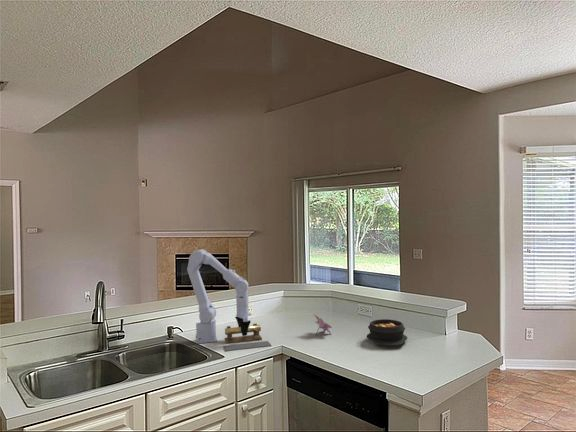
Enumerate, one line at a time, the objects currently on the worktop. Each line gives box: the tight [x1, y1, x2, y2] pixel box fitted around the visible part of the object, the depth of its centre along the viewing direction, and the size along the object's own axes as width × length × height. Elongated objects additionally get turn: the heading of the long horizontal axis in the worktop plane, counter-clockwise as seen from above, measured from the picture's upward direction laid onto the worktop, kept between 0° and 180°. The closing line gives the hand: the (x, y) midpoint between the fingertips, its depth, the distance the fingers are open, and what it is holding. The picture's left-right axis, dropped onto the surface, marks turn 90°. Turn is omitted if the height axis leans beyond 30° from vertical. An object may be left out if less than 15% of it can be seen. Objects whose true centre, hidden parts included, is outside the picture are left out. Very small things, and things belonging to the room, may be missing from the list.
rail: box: [224, 324, 262, 336], centre depth 203 cm, size 17×3×3 cm, turn 106°
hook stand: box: [224, 323, 263, 345], centre depth 203 cm, size 17×6×6 cm, turn 106°
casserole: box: [366, 318, 408, 347], centre depth 196 cm, size 25×19×8 cm
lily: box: [313, 313, 332, 335], centre depth 210 cm, size 12×12×10 cm
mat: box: [222, 340, 272, 352], centre depth 193 cm, size 21×7×1 cm, turn 106°
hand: (243, 333), depth 203 cm, fingers open, 7 cm apart
